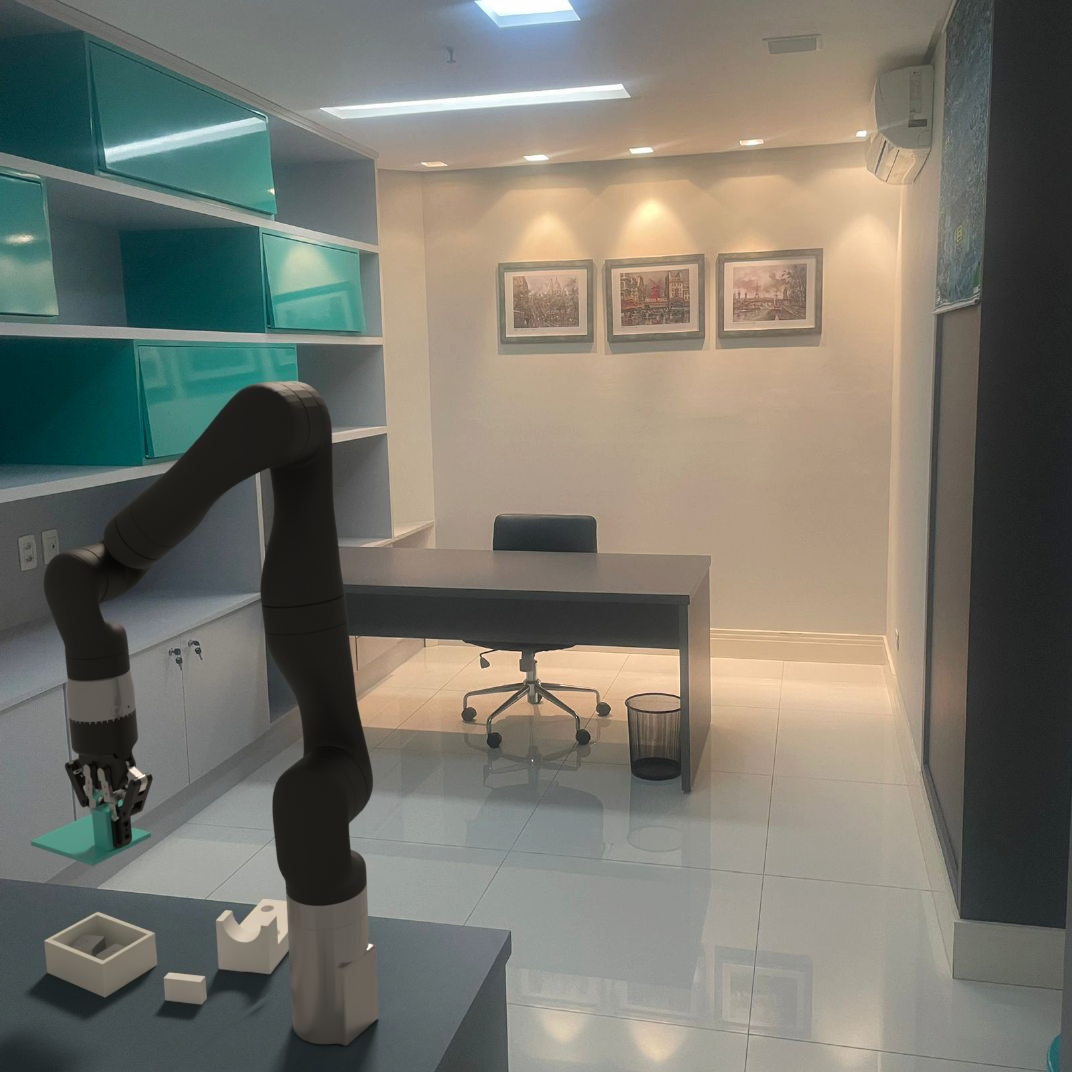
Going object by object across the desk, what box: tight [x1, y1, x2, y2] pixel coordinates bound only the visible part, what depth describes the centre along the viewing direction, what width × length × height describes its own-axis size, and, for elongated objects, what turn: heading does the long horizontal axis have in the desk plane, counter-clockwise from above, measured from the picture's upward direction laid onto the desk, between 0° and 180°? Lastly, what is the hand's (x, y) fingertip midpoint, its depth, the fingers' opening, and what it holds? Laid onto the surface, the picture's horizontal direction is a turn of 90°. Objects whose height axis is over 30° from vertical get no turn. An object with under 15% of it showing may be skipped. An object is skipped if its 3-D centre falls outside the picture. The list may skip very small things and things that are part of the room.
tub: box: [43, 911, 158, 998], centre depth 135 cm, size 11×8×5 cm
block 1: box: [71, 935, 106, 957], centre depth 136 cm, size 3×3×3 cm
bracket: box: [215, 898, 289, 975], centre depth 140 cm, size 13×7×8 cm, turn 169°
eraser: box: [163, 972, 208, 1005], centre depth 128 cm, size 1×5×4 cm, turn 79°
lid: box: [30, 800, 152, 866], centre depth 132 cm, size 12×9×6 cm
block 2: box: [96, 944, 125, 960], centre depth 133 cm, size 3×3×3 cm
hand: (114, 842), depth 130 cm, fingers closed on lid, 2 cm apart
